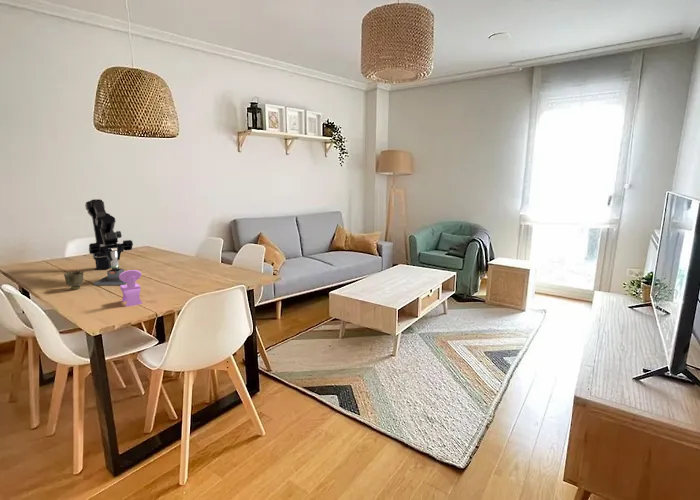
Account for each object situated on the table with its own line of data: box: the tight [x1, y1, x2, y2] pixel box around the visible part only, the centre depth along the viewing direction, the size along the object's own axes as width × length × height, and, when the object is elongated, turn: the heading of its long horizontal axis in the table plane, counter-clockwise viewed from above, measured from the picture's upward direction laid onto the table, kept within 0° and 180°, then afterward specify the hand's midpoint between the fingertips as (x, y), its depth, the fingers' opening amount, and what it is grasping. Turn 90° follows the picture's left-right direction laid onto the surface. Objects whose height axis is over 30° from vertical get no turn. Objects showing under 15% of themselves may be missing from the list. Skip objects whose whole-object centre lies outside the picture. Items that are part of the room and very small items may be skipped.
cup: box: [63, 270, 84, 291], centre depth 175 cm, size 8×7×8 cm
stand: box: [93, 268, 127, 286], centre depth 189 cm, size 14×14×6 cm
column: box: [110, 250, 120, 271], centre depth 187 cm, size 4×4×12 cm
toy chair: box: [119, 269, 143, 308], centre depth 158 cm, size 8×9×15 cm
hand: (115, 260), depth 186 cm, fingers closed on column, 3 cm apart
